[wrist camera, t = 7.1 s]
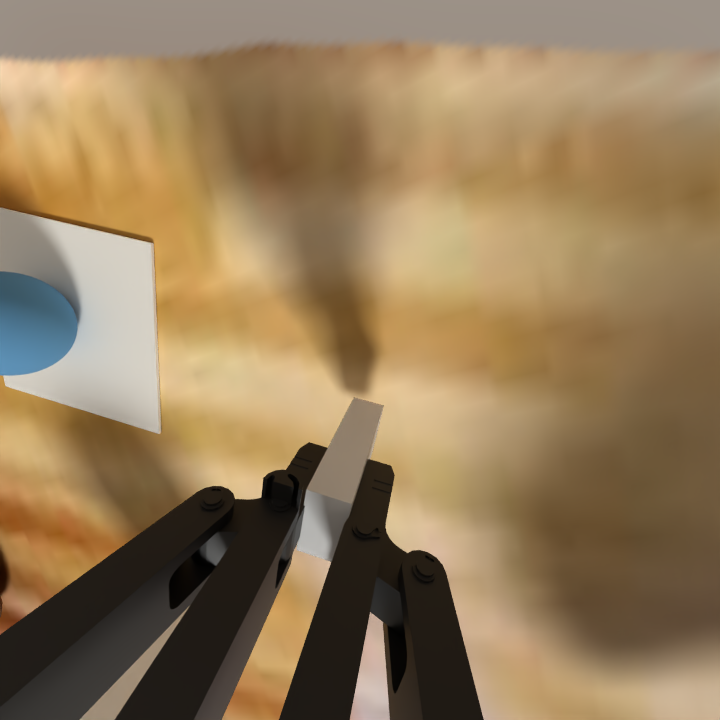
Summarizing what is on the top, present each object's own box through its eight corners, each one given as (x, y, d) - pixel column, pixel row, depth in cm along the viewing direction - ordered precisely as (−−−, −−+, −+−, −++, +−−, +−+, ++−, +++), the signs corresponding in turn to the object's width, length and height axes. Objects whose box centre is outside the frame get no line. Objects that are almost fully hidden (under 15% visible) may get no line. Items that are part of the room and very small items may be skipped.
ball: (-42, 293, 15) (-109, 259, 16) (-19, 407, 17) (-80, 366, 18) (97, 284, 19) (35, 258, 21) (102, 372, 21) (45, 343, 23)
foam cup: (140, 560, 29) (-75, 798, 17) (231, 549, 26) (50, 827, 14) (195, 641, 31) (42, 899, 19) (284, 639, 28) (169, 942, 16)
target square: (153, 243, 18) (150, 243, 18) (161, 432, 23) (159, 434, 23) (-34, 199, 20) (-39, 199, 20) (8, 385, 25) (5, 386, 24)
